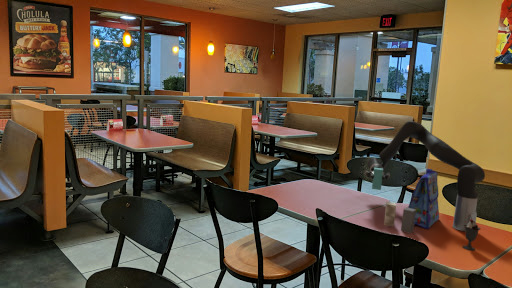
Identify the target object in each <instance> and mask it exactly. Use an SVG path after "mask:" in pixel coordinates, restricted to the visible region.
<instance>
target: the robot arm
mask: <svg viewBox="0 0 512 288" xmlns="http://www.w3.org/2000/svg"><path fill="white" fill-rule="evenodd" d="M408 138H412V139H414V140H416V141H418V142H420V143H421V144H423V145H424V147H425V148H426V150H427V151H428V152H429V154H431V155H432V156H433V157H434V158H436V159H437V160H438V161H440V162H442V163H444V164H447V166H451V167H453V168H456V169H458V174H457V179H456V180H457V181H456V191H457V195H456V201H455V207H454V208H455V209H454V215H453V223H452V228H453V229H454V230H458V231H461V232H465V233H466V229H465V227H464V225H467V223H468V222H469V221H470V220H471V217H472V220H473V221H474V222H476V221H477V216H478V213H477V205H478V198H479V192H478V191H477V190H475V189H476V188H475V187H476V185H475V184H477V183H481V182H483V181H484V179H485V177H486V173H485V171H484V169H483V168H482V167H481V166H480V165H478V164H477V163H475V162H473V161H471V160H470V159H468V158H467V157H465V156H463V155H462V154H461V153H460V152H458V151H457V150H456V149H454V148H453V147H451V145H449V144H448V143H447V142H445V141H444V140H442V139H440V138H439V137H437V136H435V135H434V134H433V133H431V132H430V131H429V130H428V129H427V128H426V127H424V125H423V124H421V123H420V122H417V121H414V120H407V121H406V122H405V123H404V124H403V125H402V126H401V128H400V129H399V130H398V132H397V133H396V134H395V136H394V137H393V139H392V140H391V141H390V142H389V143H388V145H387V146H386V147H385V148H384V149H383V150H382V151H380V153H379V155H378V156H379V159H380V160H381V161H380V160H378V158H376V157H371V158H369V159H368V161H367V163H366V166H367V168H368V169H369V170H364V176H366V178H370V179H371V180H373V179H374V167H375V168H383V176H382V181H384V180H389V179H390V176H391V173H390V172H387V173H386V172H385V171H384V170H385V168H386V166H387V165H388V163H389V162H390V161H391V160H392V159H393V158H394V157H395V156H396V155H397V154H398V152H399V150H400V148H401V146H402V144H403V143H404V142H405V141H406V140H407V139H408ZM470 215H471V216H470ZM476 223H477V222H476Z"/></svg>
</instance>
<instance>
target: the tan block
mask: <svg viewBox="0 0 512 288" xmlns="http://www.w3.org/2000/svg"><path fill="white" fill-rule="evenodd" d="M396 211H397V204H396V202H390V201H388V202H387V201H386V203H385V211H384V219H383V224H384V226H388V227H394V226H395V219H396Z"/></svg>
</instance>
